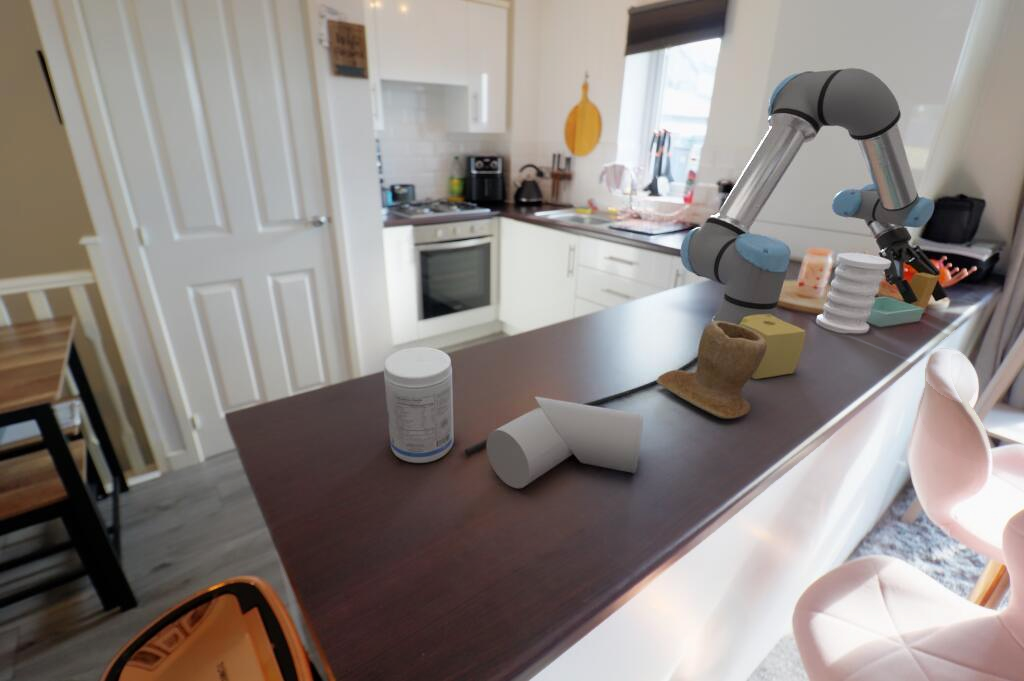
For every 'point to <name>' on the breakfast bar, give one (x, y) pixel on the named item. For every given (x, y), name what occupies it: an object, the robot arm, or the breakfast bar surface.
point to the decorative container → (852, 292)
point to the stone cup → (719, 370)
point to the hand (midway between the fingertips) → (927, 301)
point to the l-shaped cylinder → (564, 440)
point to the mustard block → (923, 288)
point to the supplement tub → (419, 403)
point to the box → (893, 312)
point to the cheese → (776, 344)
